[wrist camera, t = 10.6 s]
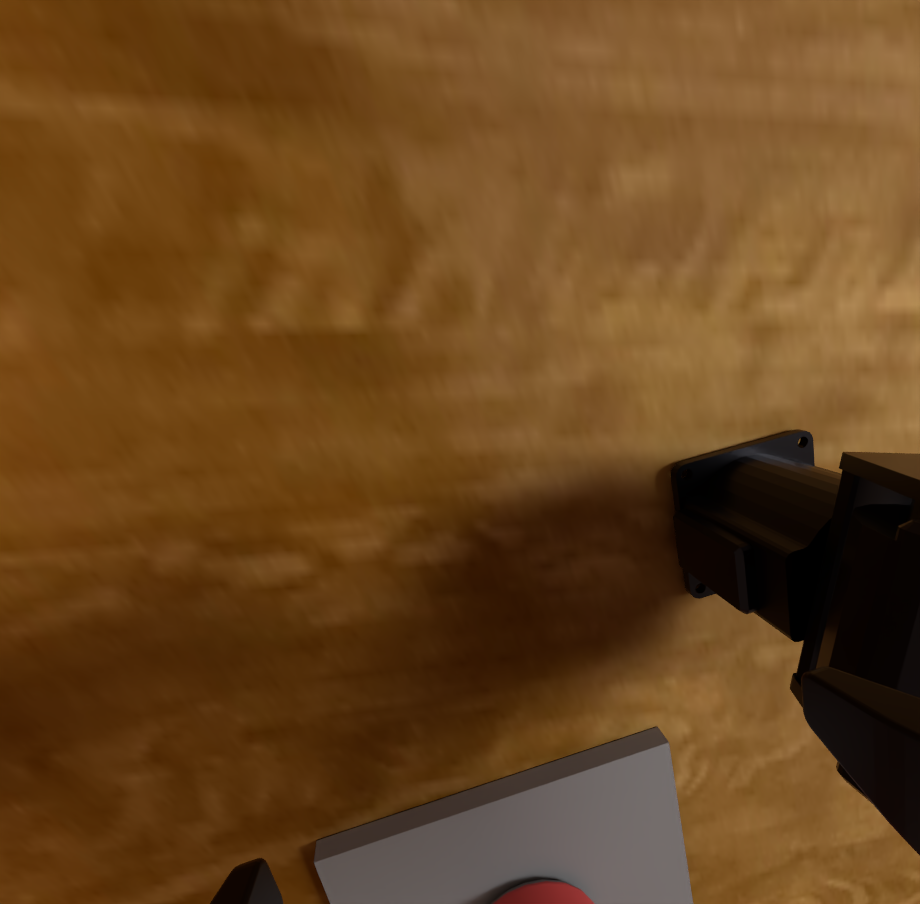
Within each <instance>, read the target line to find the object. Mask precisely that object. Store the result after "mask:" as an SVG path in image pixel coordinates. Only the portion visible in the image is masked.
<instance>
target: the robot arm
mask: <svg viewBox="0 0 920 904" xmlns="http://www.w3.org/2000/svg"><path fill="white" fill-rule="evenodd" d="M800 438H801V440H800V443H799V444H798V440H799V439H800ZM839 468H840V469H842V474H840V473H837V472H833V471H830V470H826V469H823V468H819V467H816V466H814V447H813V437H812V435H811V434H810V432H807V431H803V430H792V431H789V432H785V433H781V434H778V435H774V436H771V437H767V438H763V439H760V440H756V441H753V442H749V443H746V444H742V445H738V446H735V447H731V448H728V449H724V450H720V451H717V452H713V453H710V454H706V455H703V456H699V457H695V458H692V459H688V460H685V461H681V462H679V463H677V464H675V465H674V467H673V468H672V470H671V480H672V488H673V496H674V504H675V514H674V517H673V520H674V528H675V535H676V543H677V551H678V558H679V565H680V567H682V568H683V574H684V582H685V588H686V591H687V592H688V593H689V594H691V595H692V596H693V597H695V598H703V597H707V596H710V595H713V594H718V595H719V596H720V597H722V598H723V599H724V600H726V601H727V602H728V603H730V604H731V605H732V606H734V607H735V608H736V609H738V610H739V611H741V612H743V613H745V614H749V613H752V612H754V613H755V614H757V615H758V616H759V617H761V618H762V619H763V620H765V621H766V622H768V623H769V624H770V625H772V626H773V627H775V628H776V629H777V630H779V631H780V632H781V633H783V634H784V635H786V636H787V637H788V638H790V639H791V640H793V641H794V642H799V641H802V640H804V642H803V647H802V651H801V656H800V660H799V664H798V669H797V673H793V675H792V680H791V684H790V690H791V691H792V693H793V694H794V696H795V697H796V699H797V700H798V701H799V703H800V704H801V706H802V707H803V712H804V716H805V719H806V721H807V723H808V724H809V726H810V727H811V729H812V730H813V731H814V733H815V734H816V735H817V736H818V737H819V739H820V740H821V741H822V742H823V744H824V745H825V746H826V747H827V748H828V750H829V751H830V752H831V753H832V755H833V756H834V757H835V758H836V759H837V761H838V762H837V766H836V768H837V771H838V772H839V773H840V775H841V776H842V777H843V778H844V779H845V781H846V782H847V783H848V784H850V785H851V786H852V787H853V788H854V789H856V790H857V791H858V792H859V793H860V794H862V795H863V796H864V797H865V798H866V799H867V800H869V801H870V802H871V803H872V804H874V806H875V807H876V808H877V809H878V810H879V812H880V813H881V814H882V815H883V816H884V817H885V819H886V820H887V821H888V822H889V823H890V824H891V825H892V826H893V827H894V829H895V830H896V831H897V832H898V833H899V834H900V835H901V836H902V837H903V838H904V839H905V840H906V841H907V843H908V844H909V845H910V846H911V847H912V848H913V849H914V850H915V851H916V852H917V853H918V854H919V855H920V454H904V453H870V452H843V453H842V457H841V462H840V466H839ZM684 470H687V474H686V476H685V477H683V478H682V477H681V476H682V472H683V471H684ZM698 584H700V586H699V587H698V588H697V589H696V586H697V585H698ZM210 904H283V900H282V896H281V893H280V891H279V889H278V886H277V884H276V882H275V880H274V877H273V875H272V873H271V871H270V868H269V866H268V864H267V862H266V861H265V860H264V859H262V858H258V859H255V860H252V861H249V862H246V863H243V864H240V865H238V866H236V867H235V868H234V869H233V870H232V871H231V873H230V874H229V875H228V877H227V878H226V880H225V882H224V883H223V885H222V886H221V888H220V889H219V891H218V892H217V894H216V895H215V897H214V898H213V900H212V901H211V903H210Z"/></svg>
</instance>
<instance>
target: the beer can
mask: <svg viewBox="0 0 920 904" xmlns="http://www.w3.org/2000/svg"><path fill="white" fill-rule="evenodd" d="M490 904H595V903H594V902H593V901H592V900H591V899H590V898H589V897H588V896H587V895H586V894H585V893H584V892H583V891H582V890H581V889H579V888H577V887H575V886H573V885H571V884H568V883H566V882H563V881H557V880H545V879H542V880H536V881H531V882H525V883H523V884H520V885H518V886H516V887H514V888H511V889H509V890H507V891H506V892H505V893H503V894H502V895H501V896H499V897H498V898H497V899H495V900H494V901H493V902H491V903H490Z"/></svg>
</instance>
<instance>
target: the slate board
mask: <svg viewBox="0 0 920 904" xmlns="http://www.w3.org/2000/svg"><path fill="white" fill-rule="evenodd" d="M314 864H315V867H316V869H317V872H318V874H319V877H320V879H321V882H322V884H323V887H324V889H325V892H326V894H327V897H328V899H329V902H330V904H490V903H491V902H493V901H494V900H495V899H497V898H498V897H499V896H501V895H502V894H503V893H505V892H506V891H507V890H509V889H511V888H514V887H516V886H518V885H520V884H523V883H525V882H531V881H536V880H542V879H545V880H557V881H563V882H566V883H568V884H571V885H573V886H575V887H577V888H579V889H581V890H582V891H583V892H584V893H585V894H586V895H587V896H588V897H589V898H590V899H591V900H592V901H593V902H594V903H595V904H693V900H692V893H691V886H690V880H689V873H688V866H687V860H686V853H685V846H684V840H683V833H682V827H681V820H680V813H679V807H678V800H677V793H676V787H675V780H674V773H673V767H672V760H671V754H670V747H669V742H668V741H667V739H666V738H665V736H664V735H663V734H662V732H661V731H660V729H659V728H658V727H655V728H652V729H649V730H646V731H643V732H640V733H637V734H634V735H631V736H628V737H625V738H622V739H619V740H616V741H613V742H610V743H607V744H604V745H601V746H598V747H595V748H592V749H589V750H586V751H583V752H580V753H577V754H574V755H571V756H568V757H565V758H562V759H559V760H556V761H553V762H550V763H547V764H544V765H541V766H538V767H535V768H532V769H529V770H526V771H523V772H520V773H517V774H514V775H512V776H509V777H506V778H503V779H500V780H497V781H494V782H491V783H488V784H485V785H482V786H479V787H476V788H473V789H470V790H467V791H464V792H461V793H458V794H455V795H452V796H449V797H446V798H443V799H440V800H437V801H434V802H431V803H428V804H425V805H422V806H419V807H416V808H413V809H410V810H407V811H404V812H401V813H398V814H395V815H392V816H389V817H386V818H383V819H380V820H377V821H374V822H371V823H368V824H365V825H362V826H359V827H356V828H353V829H350V830H347V831H344V832H341V833H338V834H335V835H332V836H329V837H326V838H323V839H320V840H317V841H316V849H315V857H314Z"/></svg>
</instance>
